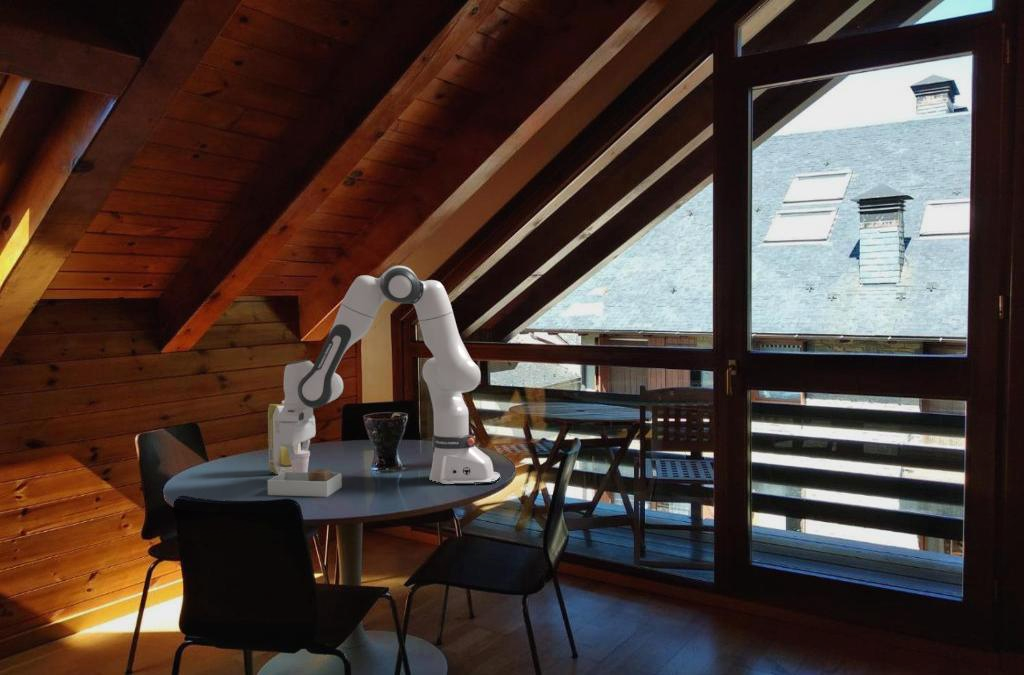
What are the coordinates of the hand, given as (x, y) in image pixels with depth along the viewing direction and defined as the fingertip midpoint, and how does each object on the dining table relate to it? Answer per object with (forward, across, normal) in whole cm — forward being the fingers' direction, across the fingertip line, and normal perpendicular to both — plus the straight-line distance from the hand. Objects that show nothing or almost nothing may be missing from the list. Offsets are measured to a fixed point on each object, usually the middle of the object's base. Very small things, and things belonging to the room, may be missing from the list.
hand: (298, 456), depth 255 cm
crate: (+8, +13, +7) cm, 17 cm away
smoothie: (+9, 0, 0) cm, 9 cm away
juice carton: (+9, -14, -11) cm, 20 cm away
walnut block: (+8, +13, +12) cm, 19 cm away
